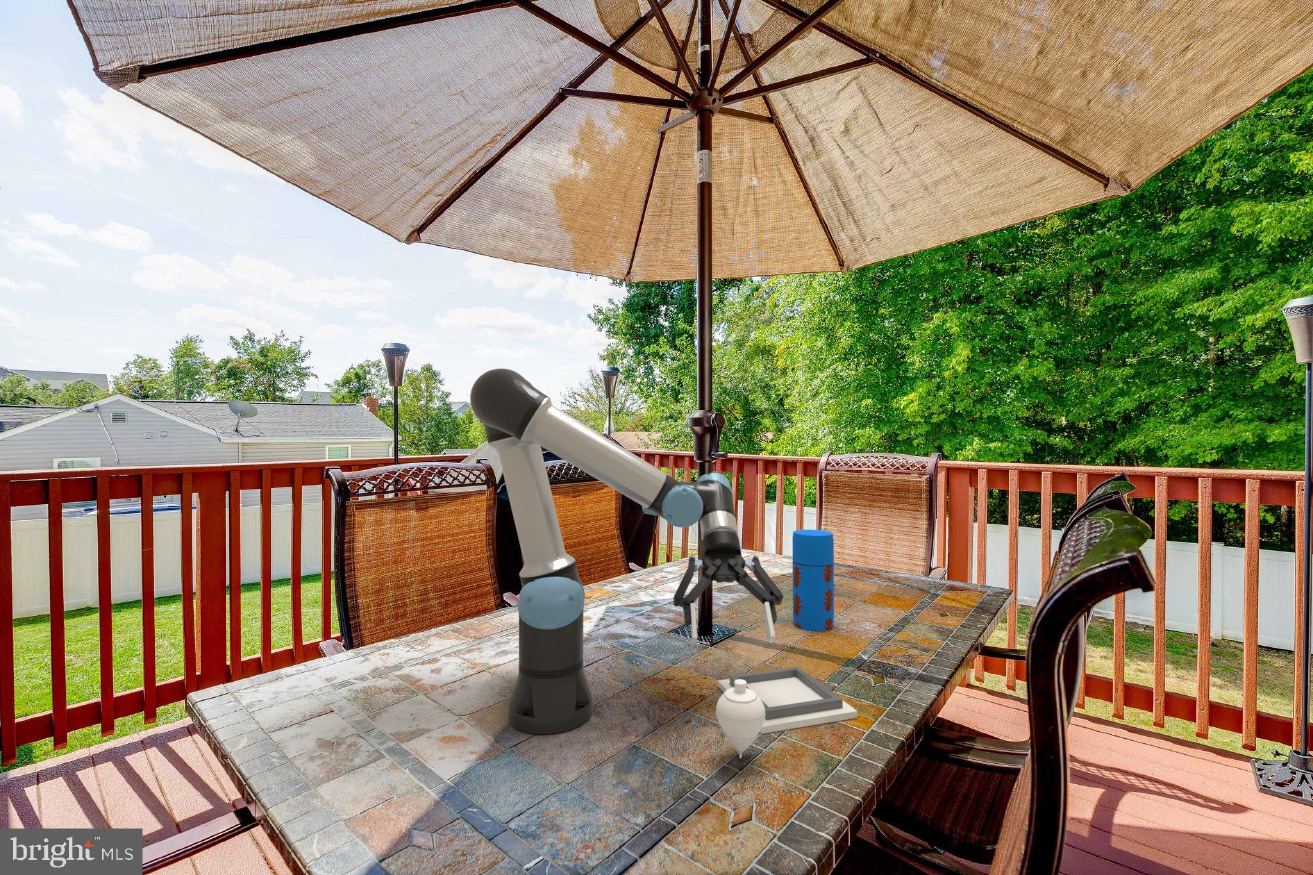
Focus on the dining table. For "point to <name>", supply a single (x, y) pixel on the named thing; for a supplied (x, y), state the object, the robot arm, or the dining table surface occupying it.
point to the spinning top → (740, 715)
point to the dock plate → (792, 699)
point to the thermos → (813, 580)
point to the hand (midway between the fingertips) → (733, 640)
